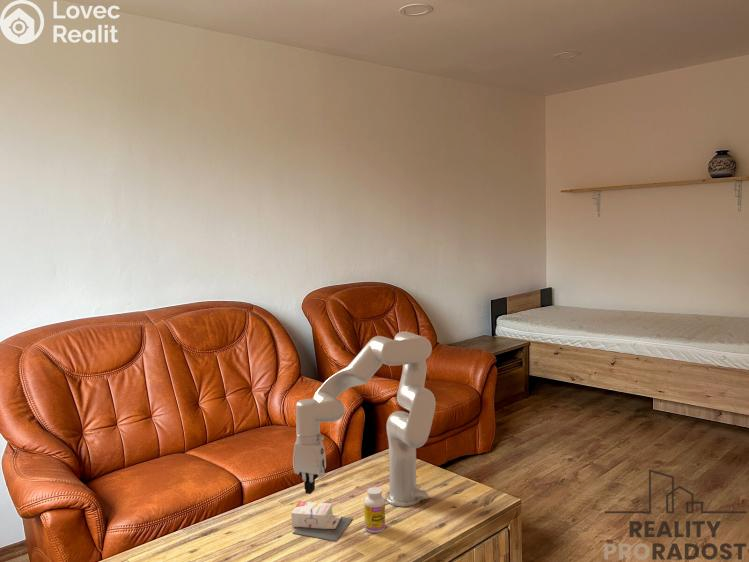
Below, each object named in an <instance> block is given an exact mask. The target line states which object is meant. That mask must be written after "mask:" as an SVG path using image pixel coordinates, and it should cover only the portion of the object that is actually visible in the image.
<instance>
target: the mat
mask: <svg viewBox="0 0 749 562" xmlns="http://www.w3.org/2000/svg"><path fill="white" fill-rule="evenodd" d="M332 517H341V518H340V520H339V522H338V524H337V526H336V528H335V529H319V528H307V527H296V528H295V530H293V532H292V534H293V535H297V534H298V536H305V537H308V538H309V537H310V538H313V539H319V540H325V541H331V542H334V543H335V542H337V541H338V540H339V538H340V537H341V536H340V535H342V534H343V533H344V532H345V530H346V529H347V528H348V526H349V525H350V523H351V522H352V521H351V520H353V518H352V517H345V516H340V515H334V514H332ZM334 523H336V522H335V521H334V522H333V524H332V525H334Z"/></svg>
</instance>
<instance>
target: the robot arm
mask: <svg viewBox="0 0 749 562" xmlns="http://www.w3.org/2000/svg"><path fill="white" fill-rule="evenodd" d="M432 347H433V346H432V344H431V342H430V340H429V339H428V338H426V337H425V336H422V335H418V334H415V333H413V332H410V331H406V330H405V331H403V330H402V331H400V332H397V333H396V334H395V336H394V338H393V339H392V338H389V337H386V336H382V335H375V336H374V337H372V338H371V339H369V341H368V342H367V343H366V344H365V346H363V348H361V350H360V351H359V352H358V354H356V356H355V357H354V358H353V359H352V360H351V362H350V363H349V364H348V365H347V366H346V367H344V368H343V369H341V370H339V371H337V372H336V373H335V374H333V375H331V376H330V377H329V378H328V379H326V380H325V381H324V382H323V383H322V385H321V386H320V387H319V388H318V389H317V390H316V392H315V393H314V395H313V397H312V398H303V399H300V400H298V401H297V402H296V403H295V422H296V423H295V424H296V427H295V428H296V429H295V430H296V432H295V433H296V440H295V442H294V446H293V455H292V467H293V473H294V474H296V475H298V476H300V477H301V479H302V481H303V482H304V487H303V488H304V491H305V495H307V494H308V495H311V494H313V492H314V491H315V489H316V486H315V485H316V480H317V478H318V479H319V478H323V477H325V476H326V472H325V470H326V467H327V461H326V459H327V458H326V451H325V446H324V442H323V441H324V438H325V437H324V435H321V426H320V423H334V422H337V421H340V420H342V418H343V417H344V415H345V411H346V407H345V405H344V403H343V402H342V401H341V400H340V399H338V397H339V396H340V395H341V394H342V393H343V392H344V391H346V390H348V389H351V388H353V387H358V386H362V385H366V384H367V383H368V382H369V381H370V380H371V379H372V377H374V375H375V374H376V373H377V371H378V370H379V369H380V368H381V367H382V366H383V364H384V365H387V366H388V367H389V366H390V367H392V366H395V367H396V366H402V371H401V377H400V380H399V381H400V382H399V384H398V388H397V394H396V402H397V404H398V405H399V406H400V407H402V408H403V409H405V410H407V411H408V412H409V413H408V412H407V411H403V410H397V411H393V412H392V413H391V414H390V415H389V416H388V418H387V420H386V435H387V441H388V449H389V450H388V454H389V455H388V458H389V460H388V461H389V464H388V465H389V467H388V468H389V469H388V471H389V472H388V473H389V475H388V476H389V478H388V479H389V490H388V491H387V492H386V493H385V498H384V499H385V502H387V503H389V504H390V505H392V506H396V507H410V506H415V505H416V504H418V503H419V502H420V501H421V499H425V500H428V497H429V494H428V492H427V490H426V489H420V488H419V484H417V449H419V448H421V447H423V446H424V445H425V443H427V441H428V439H429V435H430V433H431V429H432V425H433V419H434V415H435V411H436V407H437V405H436V403H437V402H436V398H435V395H434V393H433V392H432V391H431V390H430V389H429V388H426V387H425V382H426V377H427V373H428V372H427V370H428V366H427V359H428V358H430V357H431V354H432V351H433V348H432Z"/></svg>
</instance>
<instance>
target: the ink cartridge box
mask: <svg viewBox="0 0 749 562" xmlns="http://www.w3.org/2000/svg"><path fill="white" fill-rule="evenodd" d="M290 513H291V527H293V528H294V527H296V528H297V527H307V528H319V529H335V528H336V526H337V524H338V522H339V520H340V518H341V517H342V516H340V517H332V515H333V503H330V502H329V503H328V502H326V503H325V502H313V501H303V500H302V501H301V500H299V501H298V502H297V504H296V506H295V507H294V508H293V509H292V512H290ZM334 521H335V522H336V523H334V525H332V524H333V522H334Z"/></svg>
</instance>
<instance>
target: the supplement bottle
mask: <svg viewBox="0 0 749 562" xmlns="http://www.w3.org/2000/svg"><path fill="white" fill-rule="evenodd" d="M366 494H367V496H366V497H365V499H364V501H363V502H364V507H363V508H364V510H363V511H364V513H363V514H364V530H366V531H367V532H368V533H371V534H378V533H381V532H384V530H385V528H386V499H385V498H384V496H383V490H382V489H381V488H380V487H378V486H377V487H376V486H375V487H370V488H368V489H367V490H366Z"/></svg>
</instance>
